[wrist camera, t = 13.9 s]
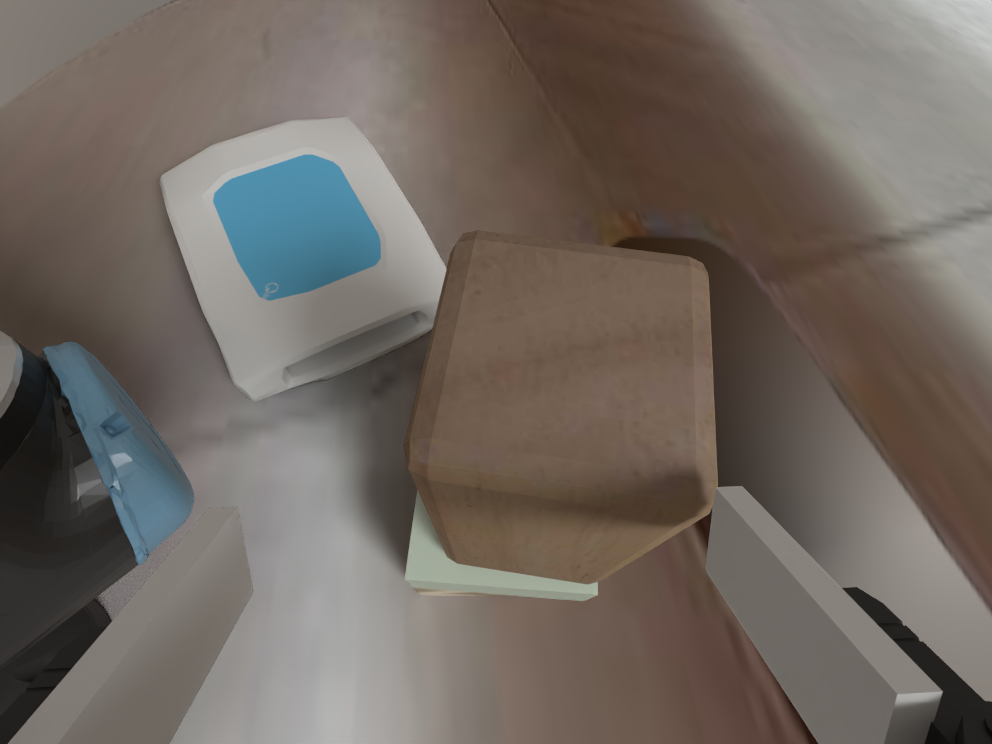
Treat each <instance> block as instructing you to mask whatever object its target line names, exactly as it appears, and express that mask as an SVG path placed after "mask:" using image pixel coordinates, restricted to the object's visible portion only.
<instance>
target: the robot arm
mask: <svg viewBox="0 0 992 744" xmlns="http://www.w3.org/2000/svg"><path fill="white" fill-rule="evenodd" d="M43 350H44V351H43V352H42V353H41V354H40V355H39V357H38V356H35V355H34V354H32V353H31V352H30V351H29V350H27V349H26V348H25V347H23V346H22V345H21V344H19V343H18V342H17V341H15V340H14V339H13V338H11V337H10V336H9V335H7V334H5V333H3V332H2V331H0V744H170V742H171V740H172V738H173V736H174V734H175V733H176V731H177V729H178V727H179V725H180V724H181V722H182V720H183V718H184V716H185V715H186V713H187V711H188V709H189V707H190V706H191V704H192V702H193V700H194V698H195V697H196V695H197V693H198V691H199V689H200V687H201V686H202V684H203V682H204V680H205V678H206V677H207V675H208V673H209V671H210V669H211V668H212V666H213V664H214V662H215V660H216V659H217V657H218V655H219V653H220V651H221V650H222V648H223V646H224V644H225V642H226V640H227V639H228V637H229V635H230V633H231V631H232V630H233V628H234V626H235V624H236V622H237V621H238V619H239V617H240V615H241V613H242V612H243V610H244V608H245V606H246V604H247V603H248V601H249V599H250V597H251V595H252V593H253V586H252V581H251V575H250V570H249V565H248V559H247V554H246V548H245V543H244V537H243V532H242V526H241V521H240V515H239V510H238V507H220V508H208V510H207V511H206V512H205V513H204V514H203V515H202V517H201V518H200V519H199V520H198V521H197V522H196V524H195V525H194V526H193V527H192V528H191V529H190V531H189V532H188V533H187V534H186V535H185V537H184V538H183V539H182V540H181V541H180V542H179V544H178V545H177V546H176V547H175V548H174V549H173V551H172V552H171V553H170V554H169V555H168V556H167V558H166V559H165V560H164V561H163V562H162V563H161V565H160V566H159V567H158V568H157V569H156V571H155V572H154V573H153V574H152V575H151V576H150V578H149V579H148V580H147V581H146V582H145V583H144V585H143V586H142V587H141V588H140V589H139V590H138V592H137V593H136V594H135V595H134V596H133V597H132V599H131V600H130V601H129V602H128V603H127V604H126V606H125V607H124V608H123V609H122V610H121V612H120V613H119V614H118V615H117V616H116V617H115V619H114V620H113V621H112V622H111V621H110V619H109V617H108V615H107V614H106V612H105V611H104V609H103V608H102V607H101V606H100V605H99V603H97V602H96V601H95V600H94V598H96V597H97V596H98V595H100V594H101V593H102V592H103V591H105V590H106V589H107V588H109V587H110V586H111V585H113V584H114V583H115V582H116V581H118V580H119V579H120V578H122V577H123V576H124V575H126V574H127V573H128V572H129V571H131V570H132V569H133V568H135V567H136V566H137V565H140V564H142V563H143V562H144V561H146V560H147V558H148V554H149V553H151V552H152V551H153V550H154V549H155V548H156V547H157V546H159V545H160V544H161V543H162V542H163V541H164V540H165V539H167V538H168V537H169V536H170V535H171V534H172V533H173V532H175V531H176V530H177V529H178V528H179V527H180V526H181V525H182V524H183V523H184V522H185V521H186V519H187V518H188V516H189V514H190V513H191V510H192V507H193V503H194V493H193V489H192V486H191V484H190V482H189V480H188V478H187V476H186V474H185V473H184V471H183V469H182V468H181V466H180V464H179V463H178V461H177V460H176V458H175V457H174V455H173V454H172V452H171V451H170V449H169V448H168V447H167V445H166V444H165V442H164V441H163V440H162V438H161V437H160V435H159V434H158V433H157V431H156V430H155V429H154V427H153V426H152V425H151V423H150V422H149V421H148V419H147V418H146V417H145V415H144V414H143V413H142V411H141V410H140V409H139V408H138V406H137V405H136V404H135V403H134V401H133V400H132V399H131V398H130V396H129V395H128V394H127V393H126V391H125V390H124V389H123V388H122V387H121V385H120V384H119V383H118V382H117V381H116V379H115V378H114V377H113V376H112V375H111V374H110V373H109V371H108V370H107V369H106V368H105V367H104V366H103V365H102V364H101V363H100V362H99V360H98V359H97V358H96V357H95V356H94V355H92V354H91V353H90V352H89V351H87V350H86V349H84V348H83V346H81V345H80V344H78V343H75V342H64V343H62V344H59V345H57V346H50V347H49V346H47V347H46V348H44V349H43ZM705 570H706V572H707V573H708V575H709V576H710V578H711V580H712V581H713V583H714V584H715V586H716V587H717V589H718V590H719V592H720V593H721V595H722V596H723V598H724V599H725V601H726V603H727V604H728V606H729V607H730V609H731V610H732V612H733V613H734V615H735V616H736V618H737V619H738V621H739V622H740V624H741V626H742V627H743V629H744V630H745V632H746V633H747V635H748V636H749V638H750V639H751V641H752V642H753V644H754V645H755V647H756V649H757V650H758V652H759V653H760V655H761V656H762V658H763V659H764V661H765V662H766V664H767V665H768V667H769V668H770V670H771V672H772V673H773V675H774V676H775V678H776V679H777V681H778V682H779V684H780V685H781V687H782V688H783V690H784V691H785V693H786V695H787V696H788V698H789V699H790V701H791V702H792V704H793V705H794V707H795V708H796V710H797V711H798V713H799V714H800V716H801V717H802V719H803V721H804V722H805V724H806V725H807V727H808V728H809V730H810V731H811V733H812V734H813V736H814V737H815V739H816V740H817V742H818V744H992V702H989V701H988V702H987V701H984V700H983V699H982V698H981V697H980V696H979V695H978V694H977V693H976V692H975V691H974V690H973V689H972V688H971V687H970V686H968V685H967V684H966V683H965V682H964V681H963V680H962V679H961V678H960V677H959V676H958V675H957V674H956V673H955V672H954V671H953V670H952V669H951V668H950V667H949V666H948V665H946V663H944V661H942V660H941V659H940V658H939V657H938V656H937V655H936V654H935V653H934V652H933V651H932V650H931V649H930V648H929V647H928V646H927V645H926V644H925V643H924V642H920V641H919V639H918V637H917V636H916V635H915V634H914V633H913V632H912V631H911V630H910V629H909V628H908V627H907V626H903V624H902V621H901V620H900V619H899V618H898V617H896V616H895V615H894V614H893V613H892V612H891V611H890V610H889V609H888V608H887V607H886V606H885V605H884V604H883V603H881V602H880V601H878V600H877V599H875V598H873V597H871V596H870V595H868V594H867V593H865V592H864V591H862V590H860V589H859V588H857V587H853V588H841V587H840V586H839V585H838V584H837V583H836V582H835V581H834V580H833V579H832V578H831V577H830V576H829V575H828V574H827V573H826V572H825V571H824V569H823V568H821V567H820V565H819V564H817V562H816V561H815V560H814V559H813V558H812V557H811V556H810V555H809V554H808V553H807V552H806V551H805V550H804V549H803V548H802V547H801V546H800V545H799V544H798V543H797V542H796V541H795V540H794V539H793V538H792V537H791V536H790V535H789V534H788V533H787V532H786V531H785V530H784V529H783V528H782V527H781V526H780V525H779V524H778V522H777V521H775V519H774V518H773V517H772V516H771V515H770V514H769V513H768V512H767V511H766V510H765V509H764V508H763V507H762V506H761V505H760V504H759V503H758V502H757V501H756V500H755V499H754V498H753V497H752V496H751V495H750V494H749V493H748V492H747V491H746V490H745V489H744V488H743V487H742V486H735V487H715V494H714V502H713V511H712V519H711V527H710V535H709V544H708V552H707V560H706V569H705Z"/></svg>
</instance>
